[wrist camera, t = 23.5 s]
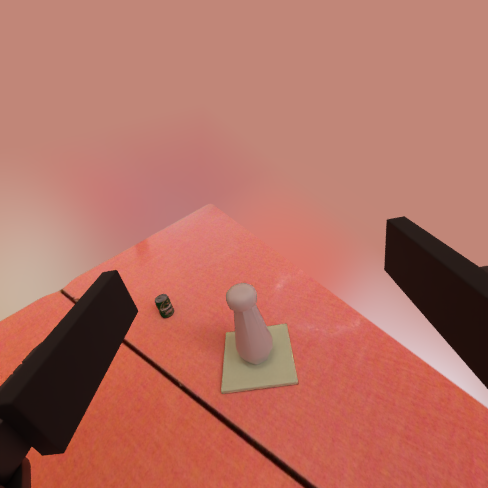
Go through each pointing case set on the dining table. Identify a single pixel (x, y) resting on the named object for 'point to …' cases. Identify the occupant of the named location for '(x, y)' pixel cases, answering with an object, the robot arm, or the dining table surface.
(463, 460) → the dining table surface
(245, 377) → the light mat
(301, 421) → the dining table surface
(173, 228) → the dining table surface
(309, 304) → the dining table surface
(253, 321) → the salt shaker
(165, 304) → the beer can
